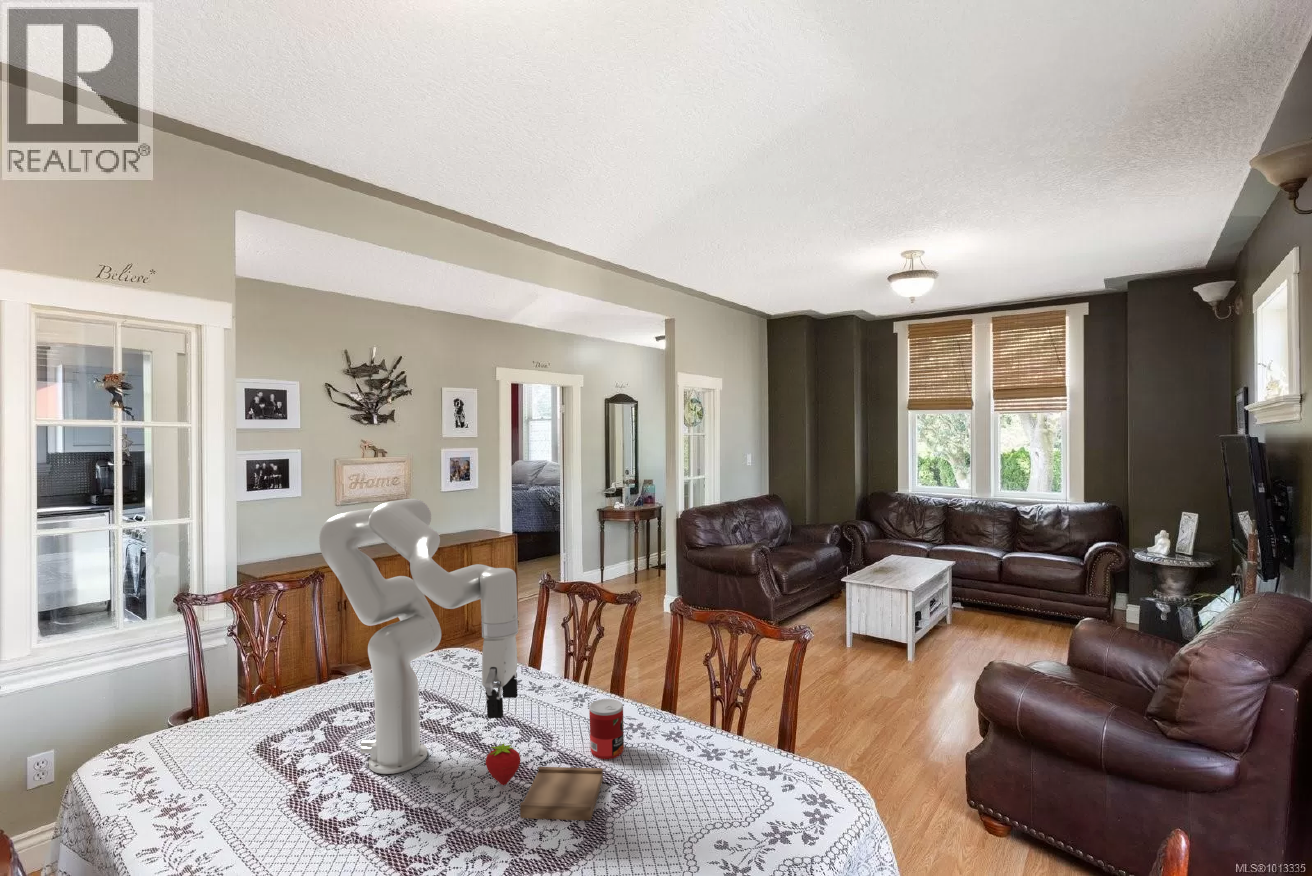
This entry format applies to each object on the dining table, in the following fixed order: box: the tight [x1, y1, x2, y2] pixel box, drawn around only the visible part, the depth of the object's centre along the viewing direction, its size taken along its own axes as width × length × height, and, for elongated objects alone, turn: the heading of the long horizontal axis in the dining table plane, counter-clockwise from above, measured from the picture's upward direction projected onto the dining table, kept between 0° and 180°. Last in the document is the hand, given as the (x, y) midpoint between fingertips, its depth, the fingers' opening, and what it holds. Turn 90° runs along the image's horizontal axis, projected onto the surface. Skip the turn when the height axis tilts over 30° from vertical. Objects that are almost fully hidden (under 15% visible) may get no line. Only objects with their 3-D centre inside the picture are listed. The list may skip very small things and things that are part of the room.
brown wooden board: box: [519, 766, 604, 821], centre depth 131 cm, size 14×14×3 cm
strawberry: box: [485, 742, 521, 786], centre depth 136 cm, size 6×8×10 cm
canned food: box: [588, 698, 625, 760], centre depth 149 cm, size 8×8×11 cm
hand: (503, 707), depth 136 cm, fingers open, 9 cm apart
